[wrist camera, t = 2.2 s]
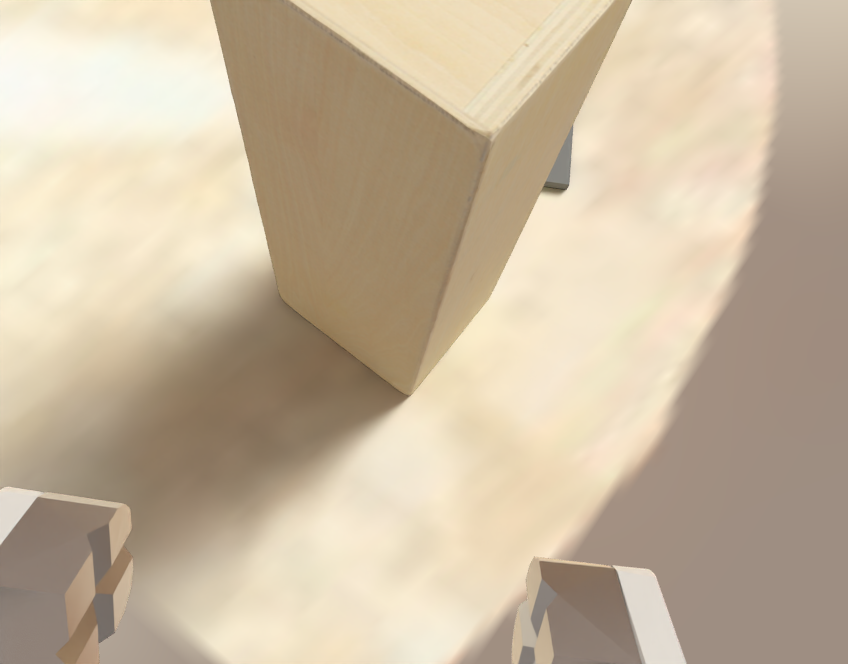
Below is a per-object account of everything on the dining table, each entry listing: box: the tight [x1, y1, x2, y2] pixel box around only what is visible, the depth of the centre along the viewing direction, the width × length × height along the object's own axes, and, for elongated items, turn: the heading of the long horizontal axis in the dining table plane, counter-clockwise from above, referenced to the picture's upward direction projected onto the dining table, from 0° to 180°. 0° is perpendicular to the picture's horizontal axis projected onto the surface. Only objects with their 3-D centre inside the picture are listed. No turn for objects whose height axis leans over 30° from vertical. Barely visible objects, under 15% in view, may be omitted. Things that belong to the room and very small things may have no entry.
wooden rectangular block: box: [210, 0, 632, 395], centre depth 26 cm, size 8×7×21 cm
